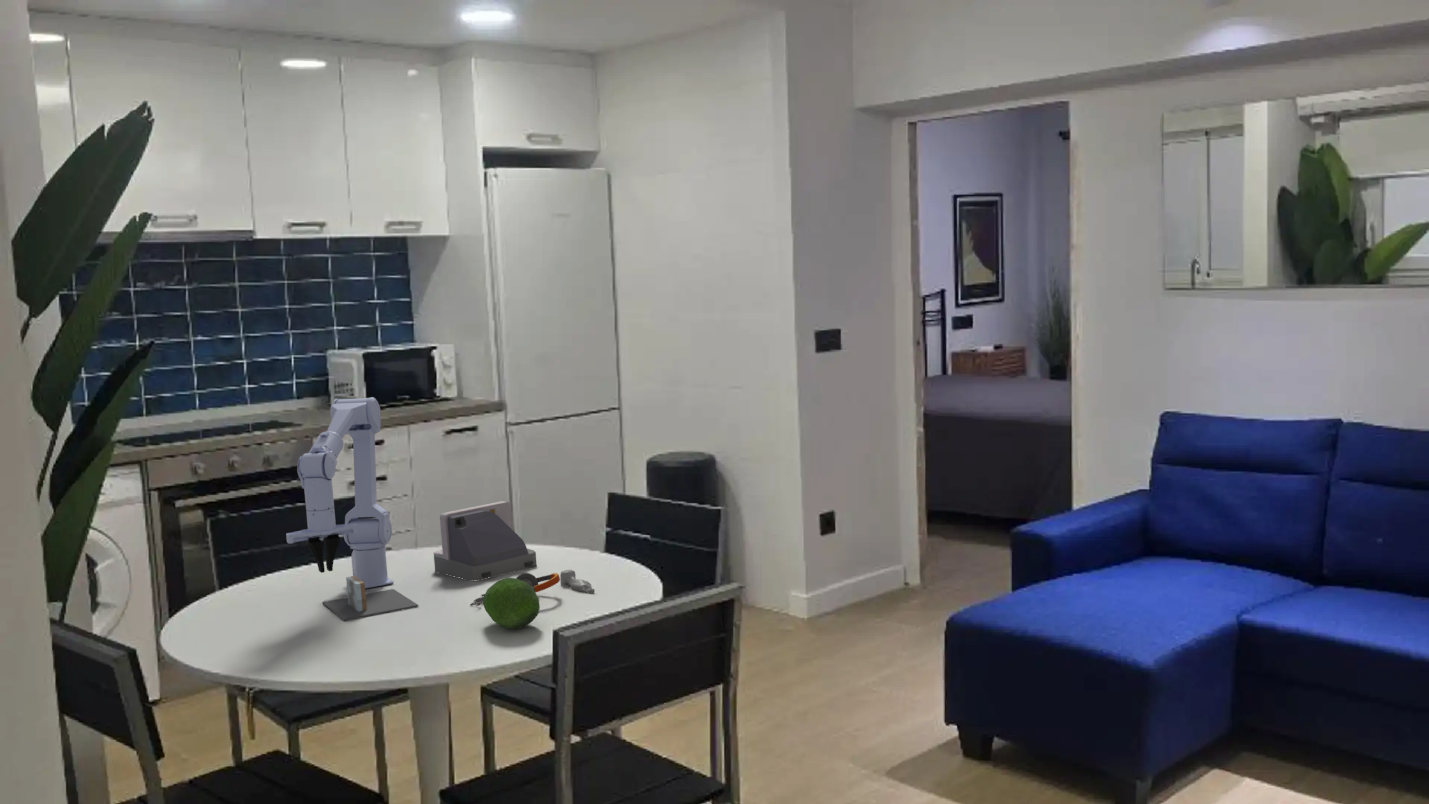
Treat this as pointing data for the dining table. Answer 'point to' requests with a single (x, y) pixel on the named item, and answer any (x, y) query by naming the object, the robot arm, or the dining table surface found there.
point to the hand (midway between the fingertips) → (325, 571)
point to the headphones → (532, 583)
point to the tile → (356, 593)
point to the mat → (371, 605)
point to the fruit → (511, 603)
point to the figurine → (575, 582)
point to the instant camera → (481, 543)
